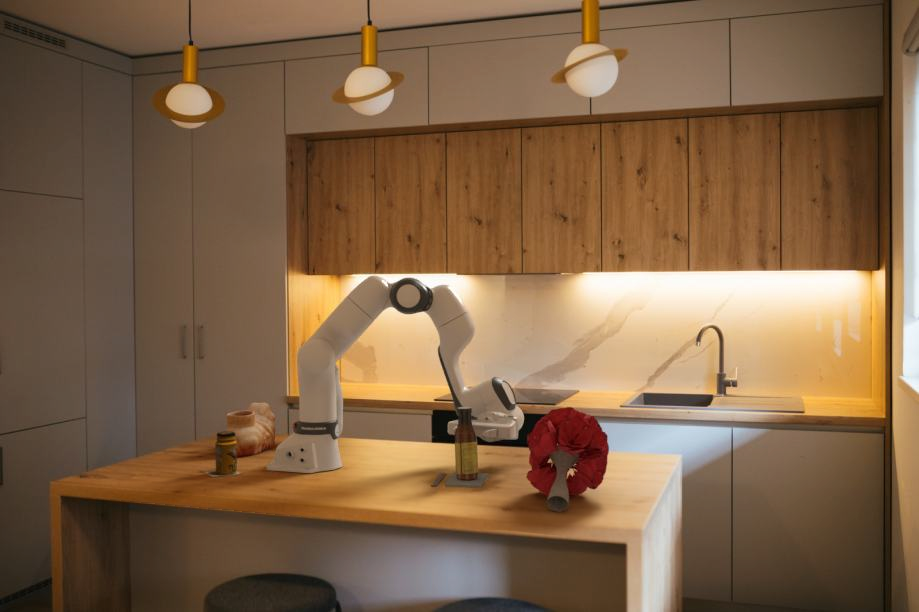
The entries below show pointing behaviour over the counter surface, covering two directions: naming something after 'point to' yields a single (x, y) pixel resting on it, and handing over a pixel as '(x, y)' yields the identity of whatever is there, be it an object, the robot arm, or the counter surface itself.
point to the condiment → (225, 455)
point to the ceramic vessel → (253, 429)
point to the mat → (466, 481)
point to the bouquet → (566, 455)
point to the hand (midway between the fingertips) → (469, 433)
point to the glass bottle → (339, 401)
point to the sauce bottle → (466, 446)
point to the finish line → (438, 479)
